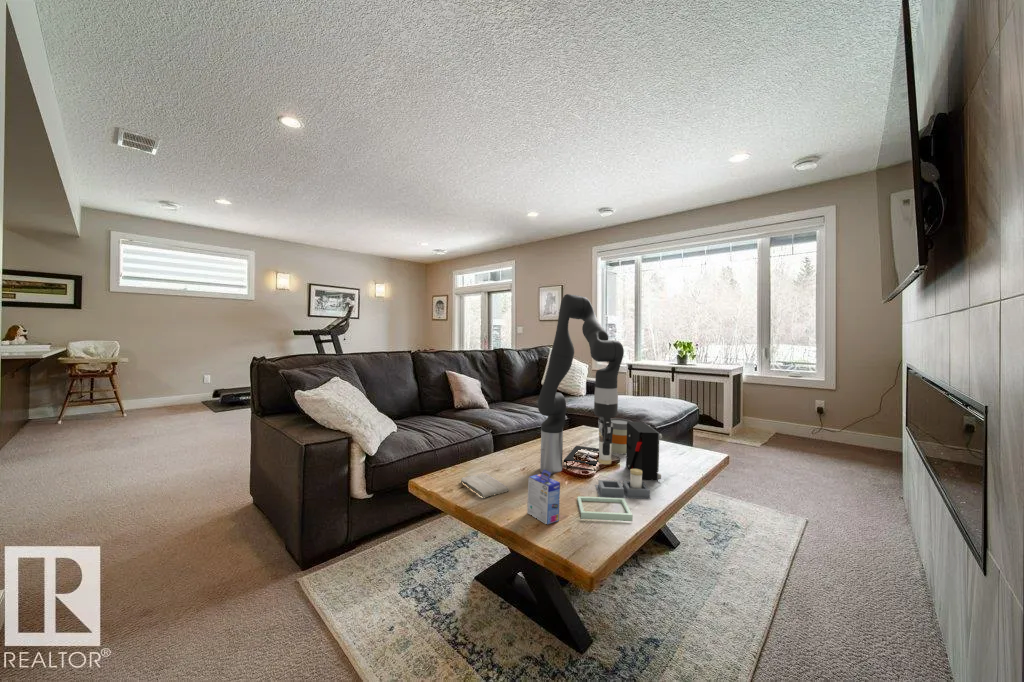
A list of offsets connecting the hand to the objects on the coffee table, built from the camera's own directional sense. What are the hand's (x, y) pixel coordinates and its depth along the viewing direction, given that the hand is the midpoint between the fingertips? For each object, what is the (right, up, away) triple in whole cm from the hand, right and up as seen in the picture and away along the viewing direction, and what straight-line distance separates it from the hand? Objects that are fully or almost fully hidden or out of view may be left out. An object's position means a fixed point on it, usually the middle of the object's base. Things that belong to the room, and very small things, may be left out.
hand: (604, 452), depth 127 cm
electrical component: (+24, -19, +34) cm, 46 cm away
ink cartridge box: (-21, -20, -4) cm, 29 cm away
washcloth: (-41, -19, +18) cm, 49 cm away
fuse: (0, -3, 0) cm, 3 cm away
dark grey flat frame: (+3, -19, +51) cm, 55 cm away
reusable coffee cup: (+23, -18, +65) cm, 71 cm away
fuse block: (+10, -19, +14) cm, 26 cm away
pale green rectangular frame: (0, -20, +1) cm, 20 cm away
